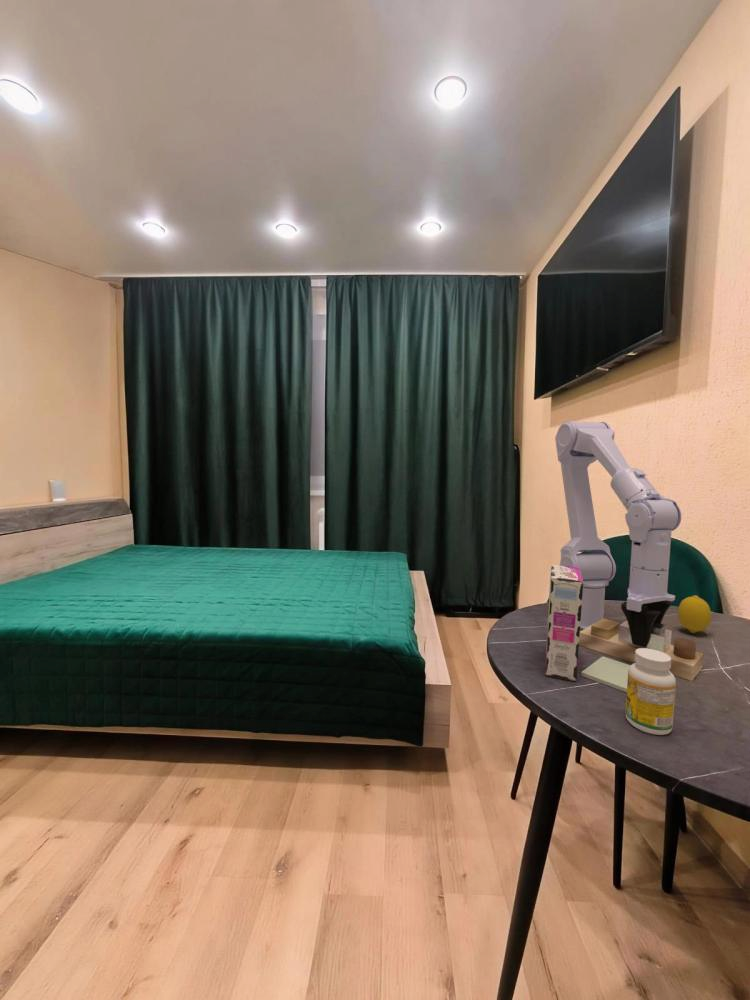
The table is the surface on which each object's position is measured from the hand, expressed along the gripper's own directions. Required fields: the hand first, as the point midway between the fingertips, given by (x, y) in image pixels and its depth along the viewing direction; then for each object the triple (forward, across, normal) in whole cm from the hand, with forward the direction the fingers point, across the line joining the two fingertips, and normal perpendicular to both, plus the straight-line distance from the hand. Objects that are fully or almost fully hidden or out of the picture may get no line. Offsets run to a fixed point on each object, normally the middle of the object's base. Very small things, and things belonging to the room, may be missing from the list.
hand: (644, 641), depth 77 cm
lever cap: (0, 0, 0) cm, 0 cm away
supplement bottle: (+3, -22, -7) cm, 23 cm away
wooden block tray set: (+3, 0, +1) cm, 3 cm away
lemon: (+3, +21, -3) cm, 21 cm away
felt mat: (+3, -11, 0) cm, 11 cm away
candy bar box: (+3, -14, +8) cm, 17 cm away
